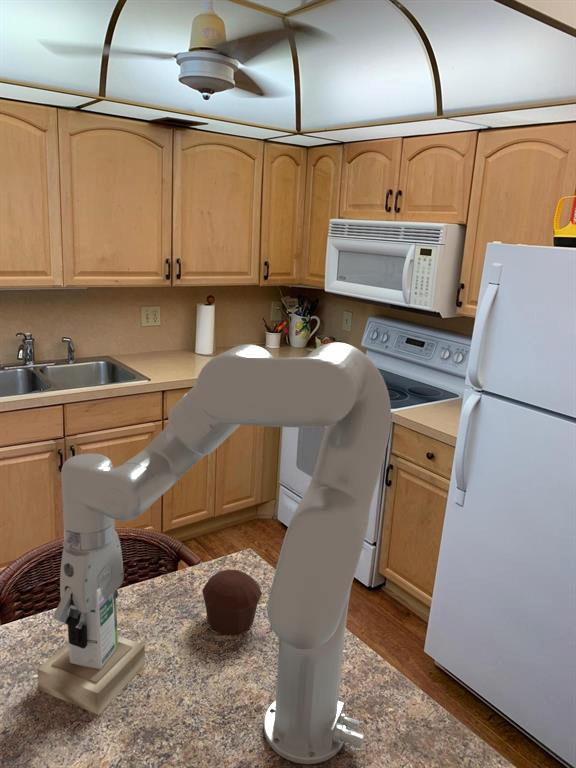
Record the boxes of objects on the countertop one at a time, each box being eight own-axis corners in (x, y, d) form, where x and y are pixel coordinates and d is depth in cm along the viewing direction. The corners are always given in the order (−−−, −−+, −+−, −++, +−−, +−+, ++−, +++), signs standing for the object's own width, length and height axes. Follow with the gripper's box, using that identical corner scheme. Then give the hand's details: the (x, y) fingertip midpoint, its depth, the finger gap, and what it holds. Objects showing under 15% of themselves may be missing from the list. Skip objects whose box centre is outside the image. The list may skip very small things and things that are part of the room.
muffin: (190, 616, 113) (191, 571, 111) (236, 596, 120) (238, 554, 118) (224, 650, 105) (225, 601, 102) (271, 626, 112) (274, 581, 109)
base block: (144, 664, 100) (144, 643, 99) (98, 715, 89) (98, 692, 88) (89, 644, 104) (88, 624, 103) (38, 689, 93) (37, 667, 92)
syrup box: (101, 670, 92) (98, 590, 89) (67, 663, 93) (64, 584, 90) (118, 647, 98) (116, 570, 94) (86, 640, 99) (83, 565, 95)
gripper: (69, 565, 81) (74, 673, 85) (142, 515, 97) (143, 608, 101) (28, 553, 84) (35, 658, 88) (106, 505, 99) (108, 597, 104)
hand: (93, 630), depth 94 cm, fingers closed on syrup box, 6 cm apart
